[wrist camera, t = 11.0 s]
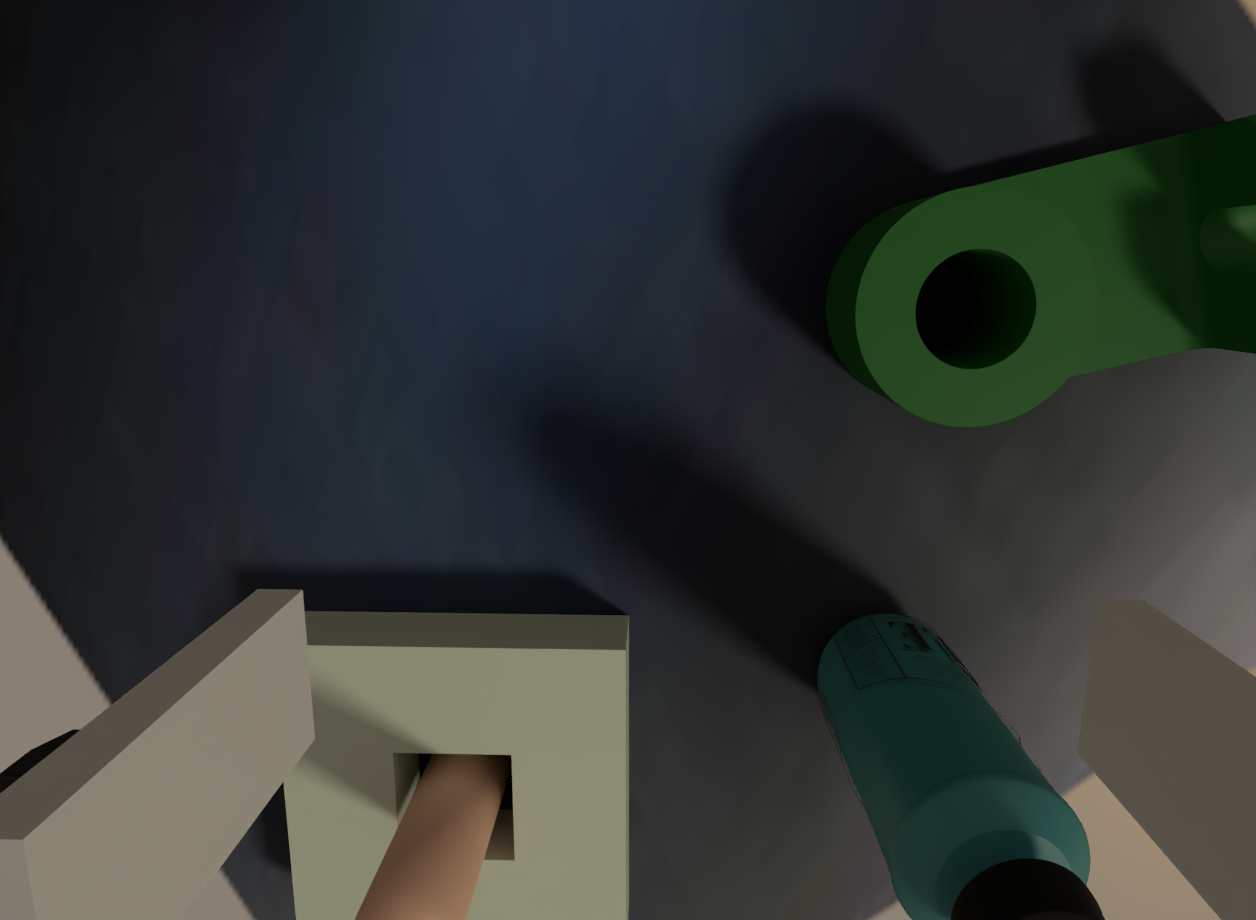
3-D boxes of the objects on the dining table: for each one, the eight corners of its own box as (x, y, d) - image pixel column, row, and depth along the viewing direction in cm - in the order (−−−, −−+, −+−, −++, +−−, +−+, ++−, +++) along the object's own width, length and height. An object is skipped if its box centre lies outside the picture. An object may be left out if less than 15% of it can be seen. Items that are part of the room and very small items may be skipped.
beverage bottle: (798, 712, 44) (910, 1071, 24) (816, 586, 42) (951, 860, 23) (930, 725, 44) (1150, 1096, 24) (952, 599, 42) (1205, 885, 23)
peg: (431, 723, 44) (350, 886, 33) (510, 725, 44) (456, 889, 33) (435, 794, 45) (357, 977, 34) (512, 796, 45) (460, 980, 33)
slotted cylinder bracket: (845, 422, 41) (878, 450, 34) (806, 227, 39) (834, 219, 33) (1244, 330, 39) (1356, 341, 33) (1223, 123, 37) (1337, 93, 31)
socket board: (305, 611, 43) (270, 644, 40) (628, 615, 43) (625, 650, 39) (329, 893, 47) (298, 949, 43) (628, 900, 46) (625, 958, 42)
